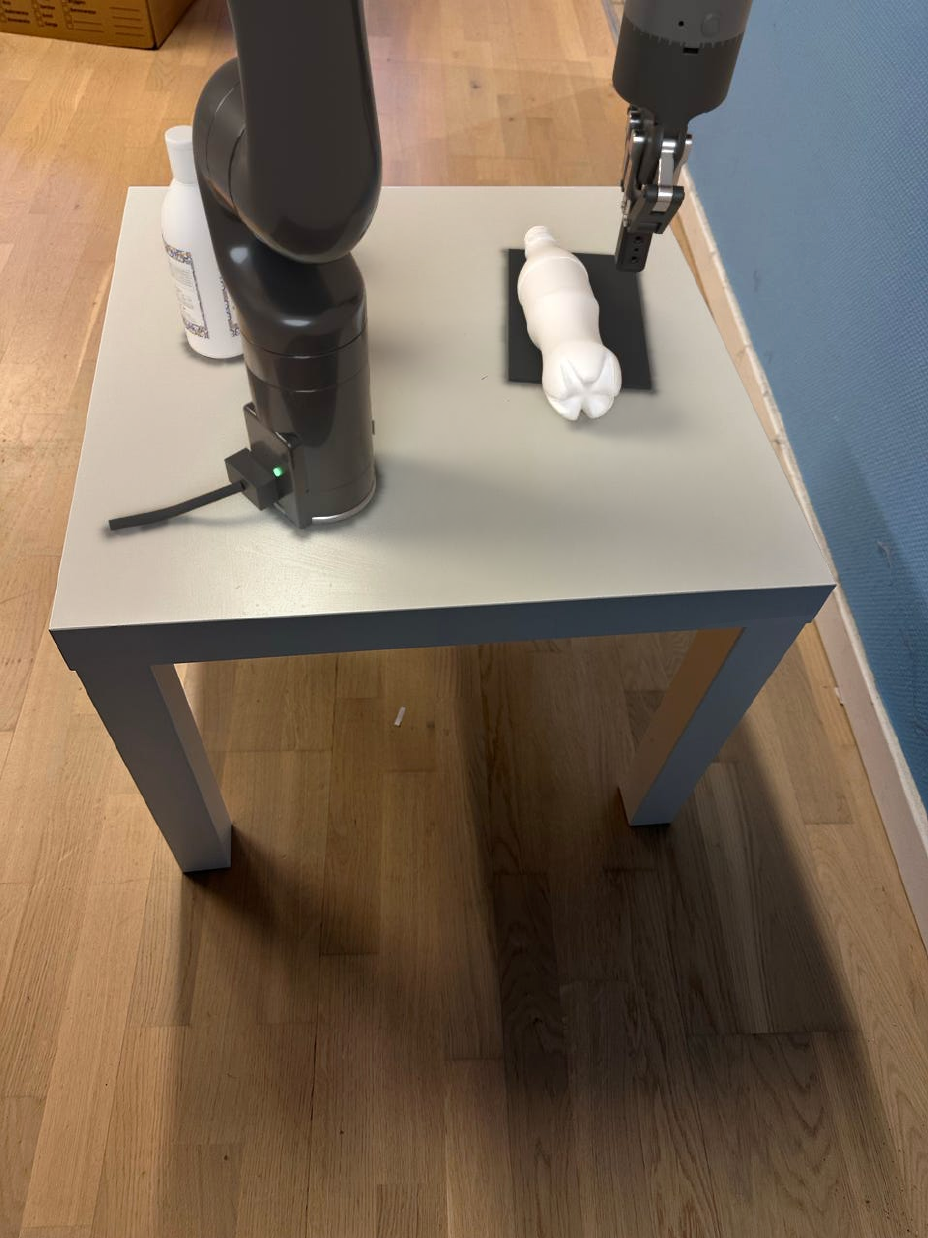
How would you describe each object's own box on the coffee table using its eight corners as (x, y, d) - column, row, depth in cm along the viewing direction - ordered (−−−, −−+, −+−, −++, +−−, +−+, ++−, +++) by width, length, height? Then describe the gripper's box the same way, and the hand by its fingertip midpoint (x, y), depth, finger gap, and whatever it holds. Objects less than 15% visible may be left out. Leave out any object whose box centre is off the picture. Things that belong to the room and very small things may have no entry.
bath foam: (258, 314, 91) (225, 110, 75) (260, 358, 87) (226, 153, 71) (188, 318, 90) (140, 113, 74) (187, 363, 86) (136, 156, 70)
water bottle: (533, 398, 79) (491, 235, 93) (574, 441, 85) (527, 280, 98) (603, 353, 76) (548, 192, 90) (641, 401, 81) (583, 241, 95)
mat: (651, 389, 88) (651, 386, 87) (508, 381, 87) (509, 378, 87) (632, 259, 100) (633, 256, 100) (508, 251, 100) (508, 248, 100)
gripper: (616, -37, 58) (575, 216, 72) (635, 54, 50) (584, 317, 64) (730, -29, 58) (667, 221, 72) (766, 62, 51) (687, 322, 65)
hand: (628, 266), depth 68 cm, fingers closed
